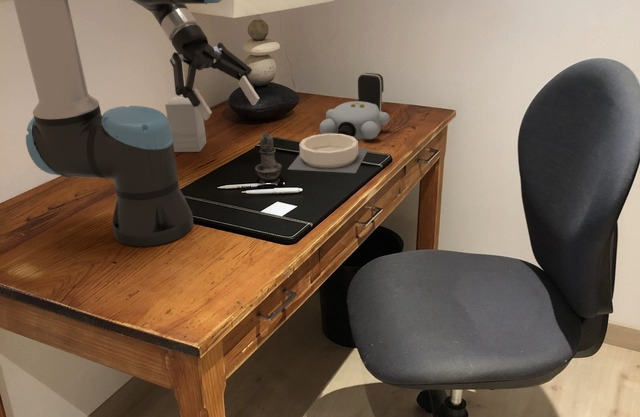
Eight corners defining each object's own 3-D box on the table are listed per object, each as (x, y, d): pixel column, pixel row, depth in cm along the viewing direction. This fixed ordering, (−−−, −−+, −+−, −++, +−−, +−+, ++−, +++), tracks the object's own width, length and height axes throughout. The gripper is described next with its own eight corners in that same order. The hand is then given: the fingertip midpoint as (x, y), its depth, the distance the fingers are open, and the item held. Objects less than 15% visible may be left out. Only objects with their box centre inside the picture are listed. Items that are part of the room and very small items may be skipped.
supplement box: (207, 142, 175) (201, 95, 170) (200, 152, 168) (193, 103, 163) (179, 142, 176) (173, 95, 171) (171, 152, 169) (164, 104, 164)
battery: (385, 112, 193) (385, 73, 188) (379, 116, 190) (379, 76, 185) (363, 109, 196) (362, 71, 191) (357, 113, 193) (356, 74, 188)
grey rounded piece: (335, 120, 187) (311, 151, 171) (333, 91, 183) (308, 120, 167) (395, 123, 182) (377, 156, 166) (395, 94, 177) (375, 124, 161)
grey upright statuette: (286, 177, 151) (283, 126, 145) (278, 188, 145) (274, 135, 140) (261, 176, 152) (257, 125, 147) (252, 186, 147) (247, 134, 142)
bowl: (351, 170, 152) (350, 154, 150) (294, 167, 155) (293, 151, 153) (362, 150, 163) (362, 134, 162) (309, 147, 167) (308, 132, 165)
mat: (355, 174, 150) (355, 172, 150) (287, 170, 154) (287, 169, 154) (368, 150, 164) (368, 148, 164) (306, 147, 168) (306, 145, 168)
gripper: (222, 35, 164) (267, 105, 160) (132, 54, 148) (181, 132, 144) (233, 15, 158) (281, 87, 155) (142, 32, 142) (192, 113, 139)
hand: (233, 109), depth 149 cm, fingers open, 13 cm apart
